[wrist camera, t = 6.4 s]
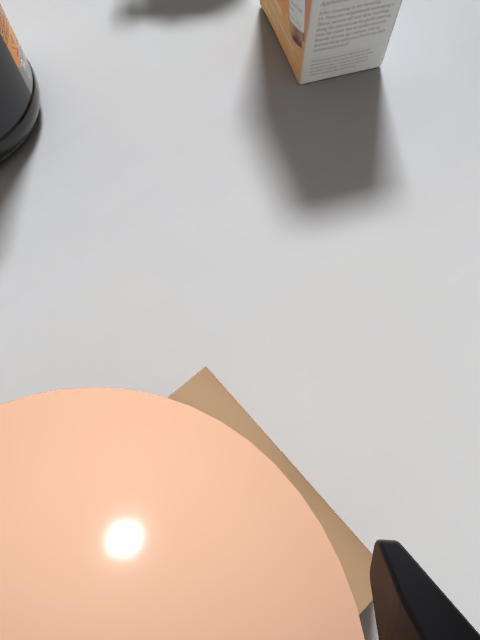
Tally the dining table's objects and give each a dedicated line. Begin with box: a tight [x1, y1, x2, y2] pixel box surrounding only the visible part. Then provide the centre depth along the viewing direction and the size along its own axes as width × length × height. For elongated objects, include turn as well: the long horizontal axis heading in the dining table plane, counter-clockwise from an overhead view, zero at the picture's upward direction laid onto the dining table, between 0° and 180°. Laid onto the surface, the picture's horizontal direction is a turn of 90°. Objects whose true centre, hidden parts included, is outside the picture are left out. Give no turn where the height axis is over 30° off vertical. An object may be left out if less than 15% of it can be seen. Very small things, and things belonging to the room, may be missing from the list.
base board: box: [168, 367, 373, 615], centre depth 17 cm, size 10×10×2 cm
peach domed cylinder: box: [0, 387, 365, 640], centre depth 10 cm, size 7×7×12 cm
